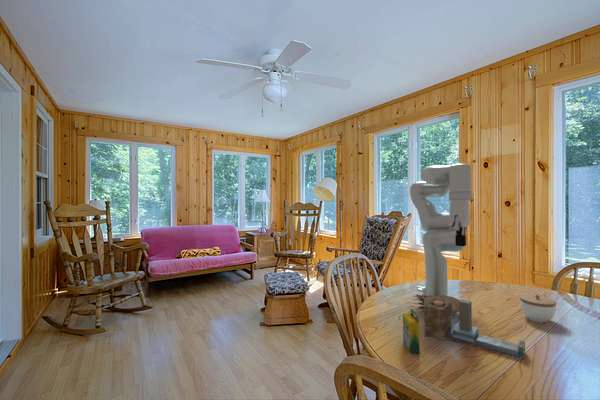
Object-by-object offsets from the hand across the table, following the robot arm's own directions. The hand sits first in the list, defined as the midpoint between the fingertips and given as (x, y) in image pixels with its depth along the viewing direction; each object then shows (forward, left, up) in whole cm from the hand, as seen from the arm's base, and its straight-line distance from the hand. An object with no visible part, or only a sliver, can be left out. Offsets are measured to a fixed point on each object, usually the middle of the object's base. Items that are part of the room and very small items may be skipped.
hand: (460, 245), depth 111 cm
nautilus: (-11, +4, -29) cm, 32 cm away
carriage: (+4, -14, -28) cm, 31 cm away
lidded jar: (+21, +22, -29) cm, 42 cm away
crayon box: (-7, -31, -29) cm, 43 cm away
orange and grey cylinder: (-4, -14, -25) cm, 29 cm away
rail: (+10, -14, -29) cm, 34 cm away
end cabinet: (-4, -14, -29) cm, 33 cm away
